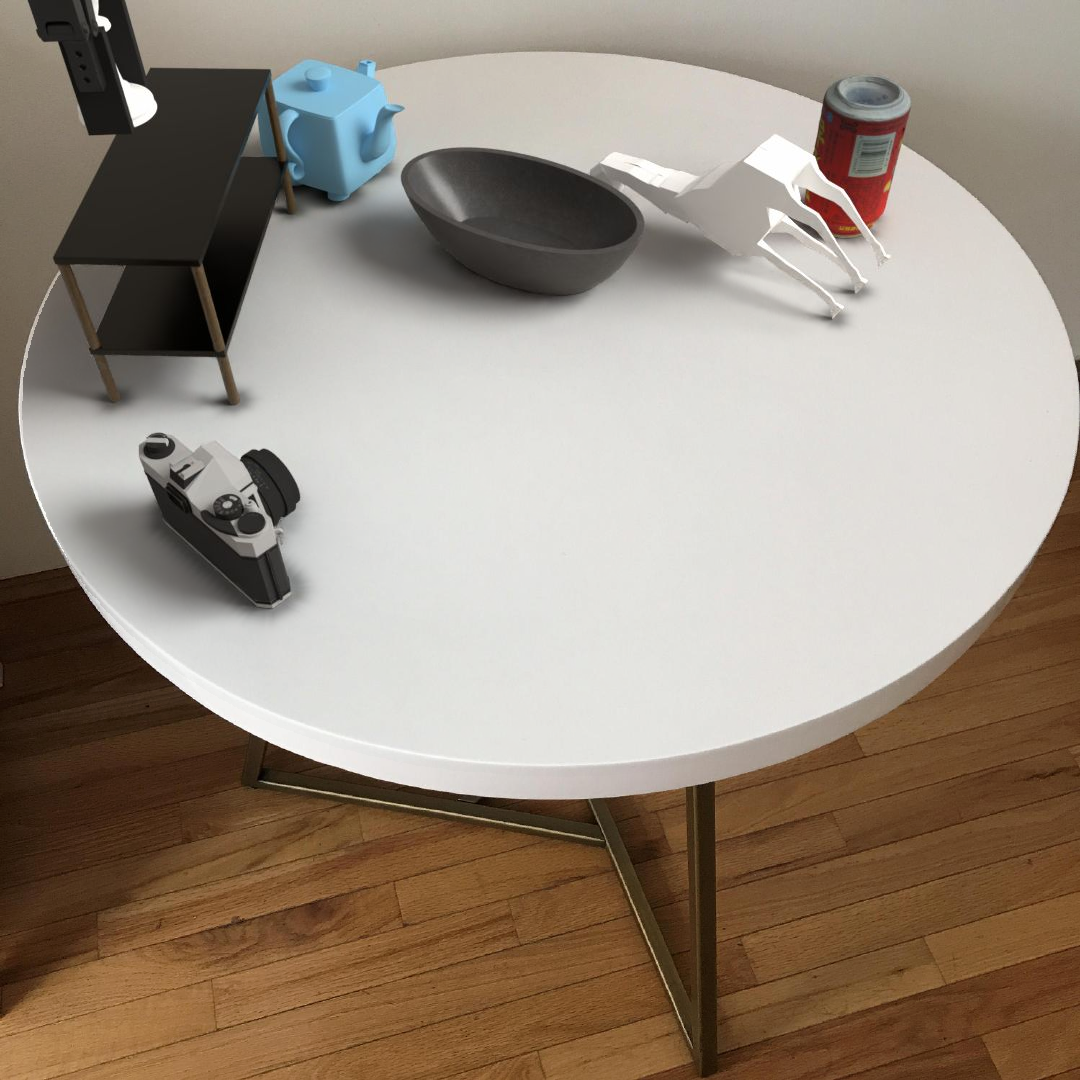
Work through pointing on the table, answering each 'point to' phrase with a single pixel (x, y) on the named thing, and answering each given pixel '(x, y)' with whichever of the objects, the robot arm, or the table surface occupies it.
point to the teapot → (331, 126)
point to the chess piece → (129, 88)
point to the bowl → (523, 218)
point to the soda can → (859, 148)
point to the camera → (226, 509)
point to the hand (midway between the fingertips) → (119, 107)
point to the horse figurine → (747, 203)
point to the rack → (179, 220)
